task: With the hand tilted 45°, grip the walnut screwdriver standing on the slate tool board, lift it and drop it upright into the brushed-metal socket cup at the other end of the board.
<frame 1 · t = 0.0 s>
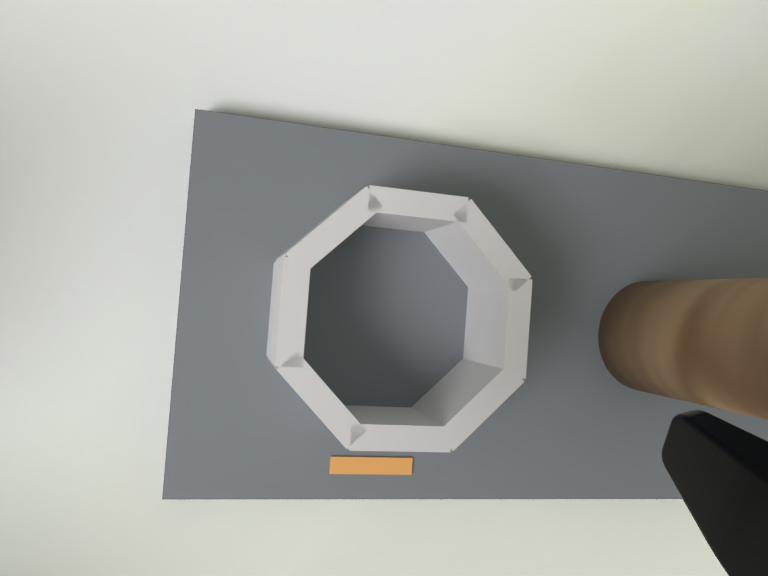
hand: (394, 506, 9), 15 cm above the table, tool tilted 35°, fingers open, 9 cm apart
tool board: (510, 325, 26), on the table
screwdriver: (646, 336, 26), point 1 cm above the table, touching tool board
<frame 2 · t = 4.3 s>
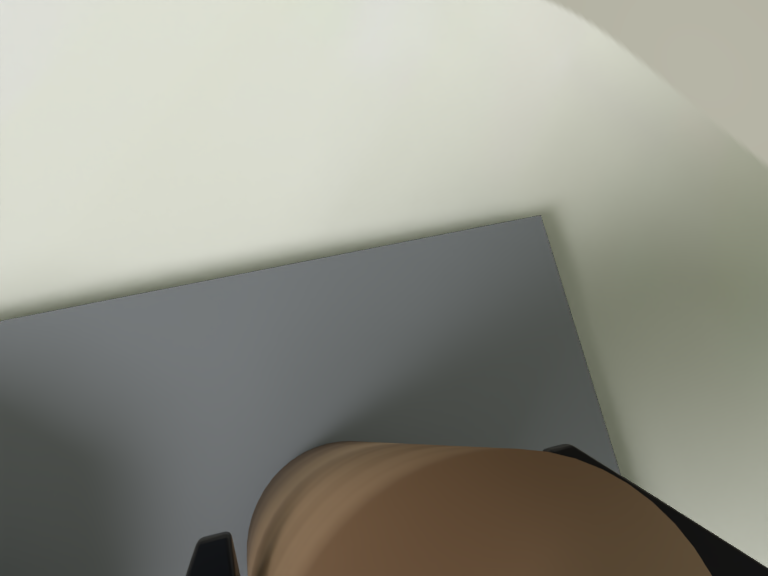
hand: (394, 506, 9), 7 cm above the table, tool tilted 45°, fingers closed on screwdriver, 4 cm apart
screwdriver: (347, 542, 14), point 1 cm above the table, touching gripper, tool board
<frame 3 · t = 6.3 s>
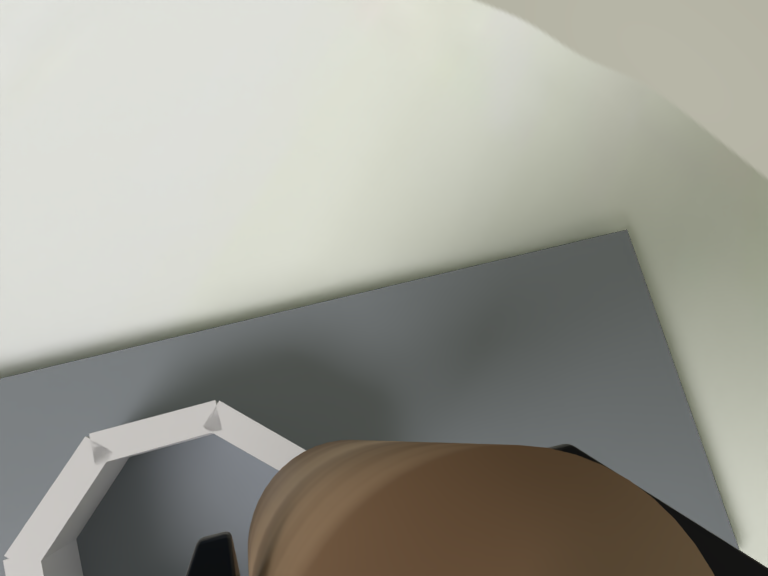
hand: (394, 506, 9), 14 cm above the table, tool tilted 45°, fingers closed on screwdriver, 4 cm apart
tool board: (362, 491, 22), on the table
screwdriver: (348, 540, 14), point 7 cm above the table, touching gripper
when the fingers open (9 cm above the table, at t = 8.4 s): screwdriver drops 2 cm, resting on tool board.
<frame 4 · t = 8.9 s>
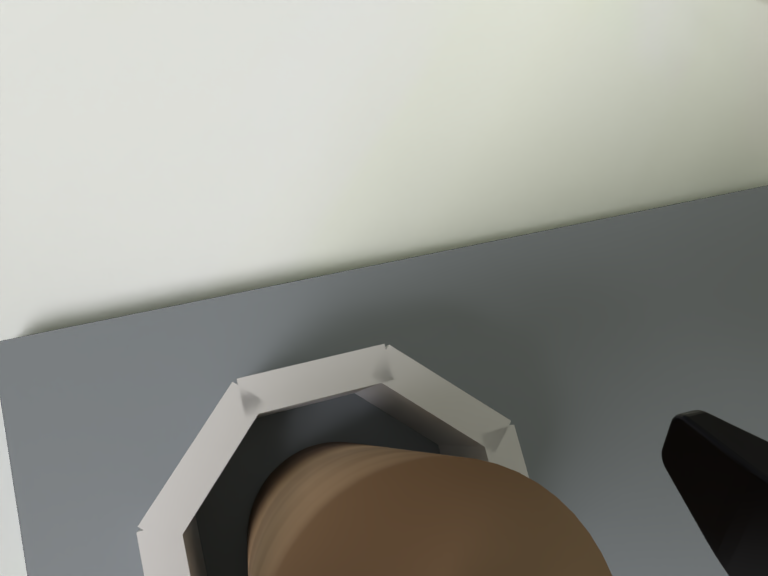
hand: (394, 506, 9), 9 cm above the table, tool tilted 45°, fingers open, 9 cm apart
tool board: (513, 468, 19), on the table
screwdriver: (336, 531, 16), point 1 cm above the table, touching tool board
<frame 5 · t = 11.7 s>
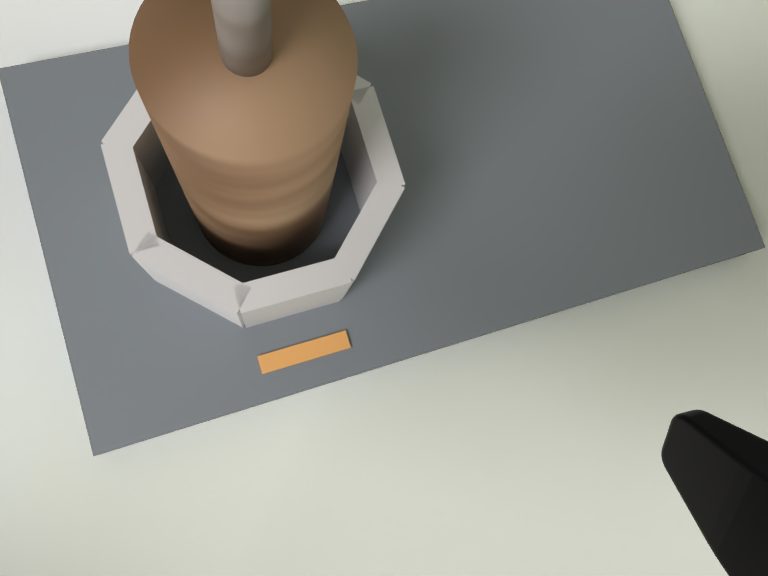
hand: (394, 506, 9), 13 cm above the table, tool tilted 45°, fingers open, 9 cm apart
tool board: (406, 174, 24), on the table
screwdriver: (261, 202, 22), point 1 cm above the table, touching tool board
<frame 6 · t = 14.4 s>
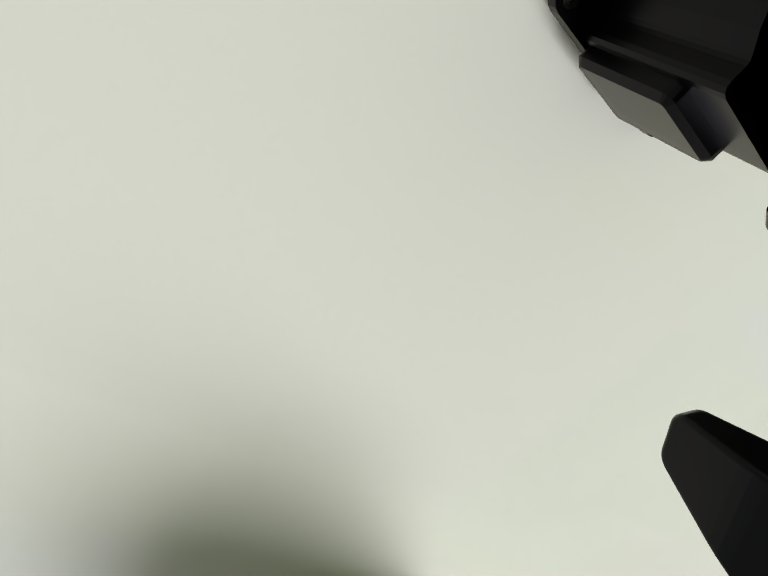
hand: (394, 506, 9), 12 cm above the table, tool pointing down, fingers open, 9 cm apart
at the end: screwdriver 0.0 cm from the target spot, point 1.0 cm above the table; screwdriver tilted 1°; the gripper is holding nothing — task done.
